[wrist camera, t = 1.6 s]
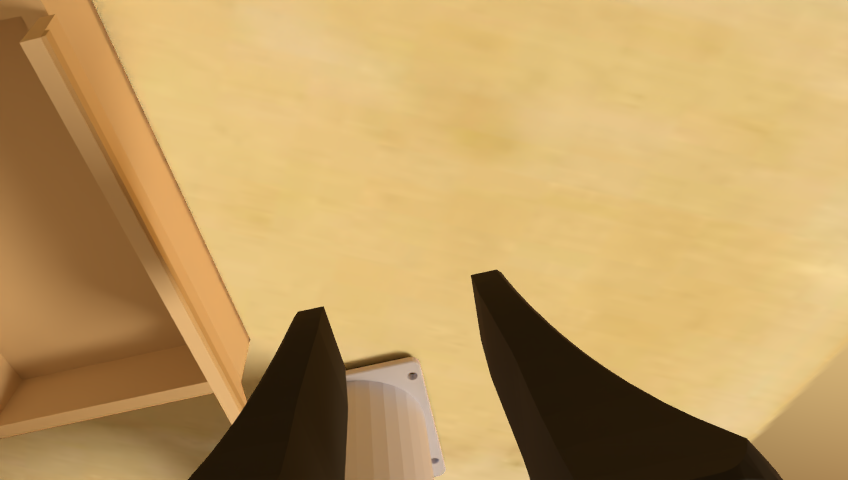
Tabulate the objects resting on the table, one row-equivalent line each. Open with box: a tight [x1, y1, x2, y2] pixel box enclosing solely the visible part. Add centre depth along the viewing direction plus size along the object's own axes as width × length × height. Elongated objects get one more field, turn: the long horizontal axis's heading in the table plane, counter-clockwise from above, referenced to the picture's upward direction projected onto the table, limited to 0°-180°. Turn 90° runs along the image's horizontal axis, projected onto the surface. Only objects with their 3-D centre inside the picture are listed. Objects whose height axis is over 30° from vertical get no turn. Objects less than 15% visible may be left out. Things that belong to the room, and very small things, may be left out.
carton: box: [0, 0, 250, 439], centre depth 21 cm, size 16×11×3 cm
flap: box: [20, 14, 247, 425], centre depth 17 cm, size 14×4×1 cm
